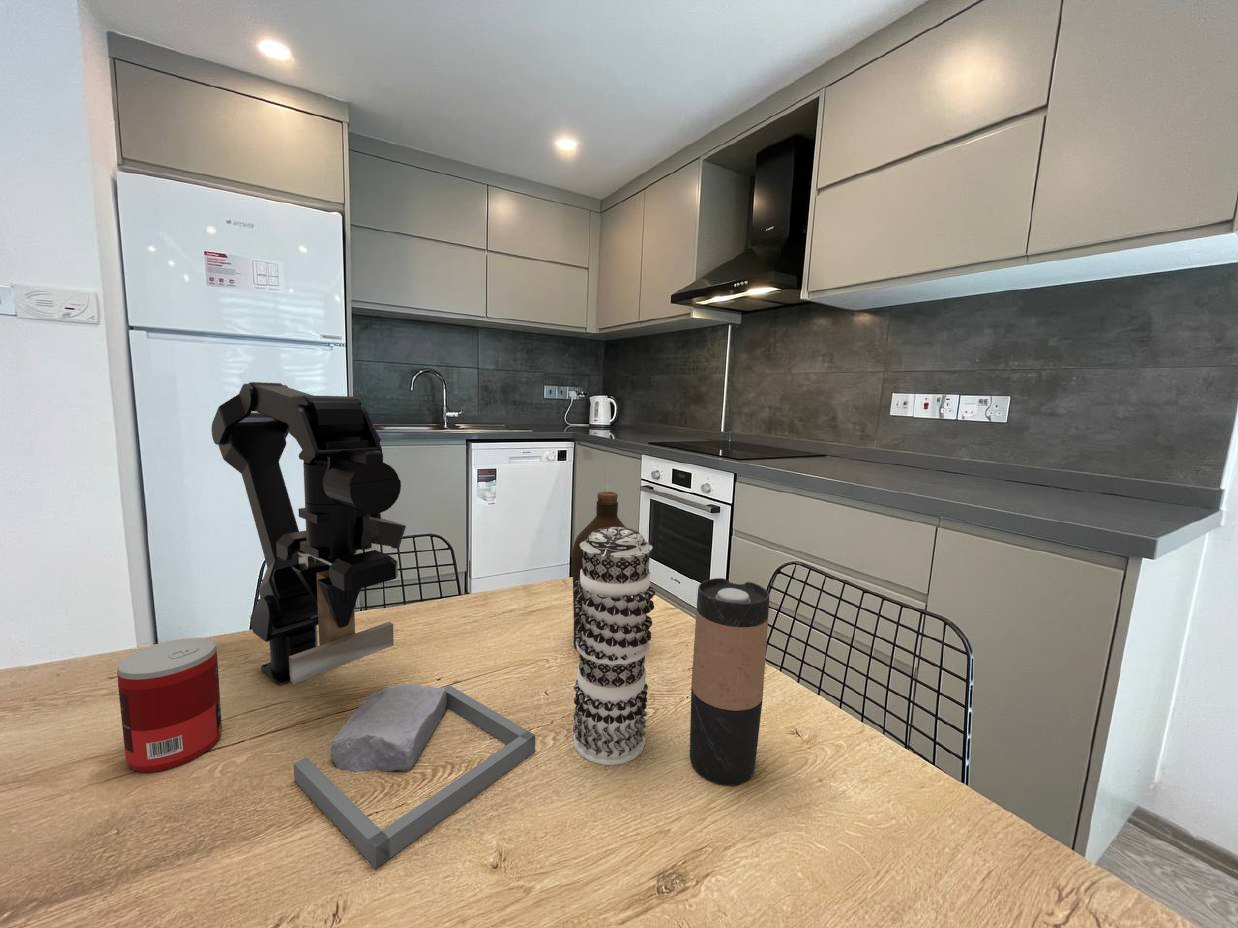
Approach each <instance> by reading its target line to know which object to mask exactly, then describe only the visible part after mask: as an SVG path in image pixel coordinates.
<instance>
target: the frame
mask: <svg viewBox="0 0 1238 928" xmlns="http://www.w3.org/2000/svg"><path fill="white" fill-rule="evenodd" d="M442 689H445V690H446V698H447V706H446V708H448V709H450V710H451V711H453V712H454V713H456V714H457V715H459V716H461V717H462V718H463V719H465V720H467V721H468V722H470V723H472V724H473V725H475V726H477V727H479V728H480V729H482V730H484V731H485V732H486V733H488V734H489V735H491V736H493V737H494V738H496V739H498V740H499V741H501V742H502V743H504V744H505V746H503V747H501V748H500V749H499V750H498V751H496V752H494V753H493V754H491V755H490V756H488V757H487V758H486V759H484V760H483V761H481V762H480V763H478V764H477V765H475V766H474V767H473V768H471V769H469V771H468V770H467V772H465V773H464V774H462V775H461V776H459V777H458V778H457V779H455V780H454V781H452V782H450V783H449V784H448V785H446V786H444V787H443V788H442V789H440V790H439V791H437V792H436V793H434V794H433V795H431V796H430V797H429V798H427V799H425V800H424V801H422V802H421V803H420V804H418V805H417V806H415V807H414V808H412V809H411V810H410V811H409V812H407V813H405V814H403V815H402V816H401V817H399V818H398V819H396V820H395V821H394V822H392V823H391V824H389V825H387V826H386V827H385V828H383V829H381V828H380V827H379V826H378V825H377V824H376V823H375V822H373V821H372V820H371V818H370V817H368V815H366V814H365V813H364V812H363V811H362V810H361V809H360V808H359V807H358V806H357V804H355V803H354V802H353V801H352V800H351V799H350V798H349V797H348V796H347V795H346V794H345V793H344V792H343V791H342V790H341V789H340V787H338V786H337V785H336V784H335V783H334V782H332V780H331V779H330V778H329V777H327V775H326V774H325V773H324V772H323V771H321V770H320V768H319V767H317V766H316V764H314V763H313V762H312V761H311V760H310V759H309V758H308V757H307V756H305V757H304V758H301V759H299V760H298V761H296V762H293V779H294V783H296V785H297V786H298V787H299V788H300V789H301V790H302V791H303V792H304V794H305V795H306V796H308V798H309V799H310V800H311V801H312V802H313V803H314V804H315V805H316V806H317V808H318V809H320V810H321V812H322V813H324V815H325V816H326V817H327V818H328V819H329V820H330V821H331V823H333V825H334V826H335V827H336V828H338V829H339V831H340V832H341V833H342V834H343V835H344V836H345V837H346V839H347V840H348V841H349V842H350V843H351V844H352V845H353V846H354V847H355V849H357V850H358V851H359V853H360V854H361V855H362V856H363V857H364V858H366V860H367V861H368V862H369V863H370V864H371V865H372V867H374V869H378V868H380V867H381V866H382V865H383V864H385V863H386V862H388V861H389V860H390V859H392V858H393V857H395V856H396V855H397V854H399V852H401V851H403V850H404V849H405V848H407V847H408V846H410V845H411V844H412V843H413V842H416V840H418V839H419V838H420V837H422V836H423V835H424V834H425V833H427V832H428V831H430V830H431V829H432V828H433V827H435V826H437V824H439V823H440V822H442V821H443V820H444V819H446V818H447V817H448V816H450V815H451V814H453V813H454V812H455V811H457V810H458V809H459V808H461V807H462V806H463V805H465V804H466V803H467V802H469V801H470V800H472V799H473V798H475V796H477V795H478V794H480V793H481V792H483V791H484V790H485V789H487V788H488V787H489V786H490V785H492V784H493V783H495V782H496V781H497V780H499V779H500V778H501V777H502V776H505V774H507V773H508V772H509V771H511V770H512V769H513V768H514V767H516V766H518V765H519V764H520V763H522V762H523V761H524V760H525V759H527V758H528V757H530V756H531V755H532V754H534V753H535V752H536V734H534V733H532V732H531V731H529V730H528V729H526V728H524V727H522V726H521V725H519V724H518V723H515V722H514V721H512V720H510V719H509V718H507V717H505V716H504V715H502V714H501V713H498V711H495V710H493V709H492V708H490V707H488V706H487V705H485V704H483V703H481V702H480V701H479V700H476V699H474V698H472V697H471V696H470V695H468V694H466V693H464V692H463V691H461V690H459V689H457V688H456V687H454V686H452V685H450V684H449V685H447V686H445V687H443V688H442Z"/></svg>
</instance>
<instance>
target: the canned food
mask: <svg viewBox="0 0 1238 928" xmlns="http://www.w3.org/2000/svg"><path fill="white" fill-rule="evenodd" d="M219 678H220V677H219V661H218V650H217V645H216V642H215V640H212V639H210V638H206V637H187V638H186V637H185V638H180V639H172V640H169V641H164V642H160V643H157V644H154V645H150V646H148V647H145V648H142V649H140V650H138V651H135V652H133V653H132V654H130V655H128V656H126V657H125V658H124V659H122V660H121V661H120V662H119V663H118V665H117V686H118V696H119V697H118V699H119V705H120V717H121V725H122V727H121V728H122V735H123V736H122V738H123V747H124V754H125V755H124V756H125V757H124V758H125V761H126V763H127V764H128V766H129V767H130V768H131V769H132V770H133V771H136V772H139V773H140V772H142V773H153V772H160V771H165V770H169V769H173V768H175V767H178V766H179V767H180V766H181V765H184V764H187V763H188V762H191V761H192V760H194V759H196V758H198V757H200V756H202V755H203V754H204V753H206V752H207V751H209V750H210V749H211V748H212V747H214V745H216V743H217V742H218V741H219V739H220V736H221V732H222V728H223V727H222V710H221V709H222V708H221V695H220V694H221V692H220V679H219Z"/></svg>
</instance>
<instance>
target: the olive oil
mask: <svg viewBox="0 0 1238 928" xmlns="http://www.w3.org/2000/svg"><path fill="white" fill-rule="evenodd" d="M596 496H597V501H596V502H595V503H596V506H595V507H596V515H595V517H594V518H593V519H592V521H590V522H589V524H587V526H586V527H585V528H583V529H582V530H581V532H580V533H579V534H577V536H576V538H575V541H574V542H573V547H572V550H571V563H572V564H571V565H572V566H571V568H572V596H573V597H572V600H573V602H572V605H573V606H572V609H573V611H572V612H573V619H574V618H575V617H576V611H575V605H576V604H575V600H576V599H577V597H576V595H577V594H575V593H574V587H575V582H576V581H577V580H579V579H580V570H581V569H582V565H583V562H582V555H583V549H581V547H580V543H582V542H583V541H584V540H587V538H588V537H589V535H590V534H591V533H592V532H593V531H594V530H597V529H600V528H606V527H622V528H627V527H626V526H625V525H624V523H623V522H622V521H621V519H620V518H619V517H618V511H619V502H618V496H619V495H618V493H617V492H613V491H601V492H600V491H599V492H598V493H597V495H596ZM582 589H583V588H581V589H580V592H582ZM581 606H582V604H581ZM580 622H582V619H581V618H580ZM576 626H577V624H576V623H575V622H574V621H573V646H574V648H575V650H577V647H576V640H575V636H576V635H577V634H576V629H577V627H576Z"/></svg>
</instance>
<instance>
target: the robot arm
mask: <svg viewBox="0 0 1238 928" xmlns="http://www.w3.org/2000/svg"><path fill="white" fill-rule="evenodd" d="M288 435H290V436H292V437H293V438H294V439H295V441H296V442H297V444H298V445H299V448H301V451H300V452H299V453H298V458H299V460H301V461H303V462H302V463H303V484H304V485H303V487H304V489H303V491H304V507H300V508H298V509H297V510H298V518H301V519H303V520H305V530H301V531H300V530H299V529H300V528H299V525H298V523H297V518H296V516H295V512H294V510H293V506H292V503H291V498H290V495H289V491H288V489H287V485H286V482H285V479H284V475H283V472H282V469H281V465H280V461H281V460H280V459H281V458H282V456H283V452H284V450H285V449H286V446H287V440H286V439H287V437H288ZM211 437H212V440H213V442H214V445H216V446H217V445H218V448H219V451H220V454H221V457H222V459H223V461H225V463H227V464H228V465H230V466H231V467H232V468H234V469H235V470H236V471H237V472H239V473H240V475H241V477H242V480H243V484H244V488H245V491H246V494H247V499H248V501H249V505H250V509H251V512H252V516H253V520H254V523H255V527H256V532H257V535H258V538H259V541H260V545H261V550H262V553H263V556H264V561H265V564H266V571H265V573H264V576H263V578H262V580H261V583H260V585H259V588H258V594H259V599H258V600H257V603H256V606H255V607H254V609H253V611H252V613H251V615H250V624H251V630H252V633H254V635H256V636H257V637H259V638H260V640H262V641H264V642H265V643H268V642H269V656H270V658H269V659H270V661H269V662H267V663H264V664H262V665H261V666H260V670H261V671H262V673H265V675H267V676H268V677H269V678H270V679H272V681H274V682H275V683H277V685H282V684H285V683H288V682H291V681H290V666H289V656H292V655H295V654H298V653H301V652H303V651H306V650H309V649H312V648H315V647H318V646H319V636H318V601H317V581H318V584H319V586H320V588H321V590H322V593H323V595H324V597H325V599H326V602H327V604H328V606H329V609H330V611H331V613H332V616H333V618H334V620H335V622H336V624H337V626H338V627H339V628H342V627H345V626H347V625H348V624H349V621H350V618H351V615H352V612H353V609H354V610H355V606H356V603H357V601H358V597H359V594H360V591H361V590H362V589H363V588H364V589H365V588H368V587H372V586H375V585H379V584H382V583H386V582H388V581H392V580H393V581H394V580H396V579H397V578H398V575H399V571H398V568H399V567H398V561H397V559H395V558H393V557H392V556H391V555H389V554H387V553H384V552H381V551H379V550H377V549H373V550H371V549H372V547H373V545H380V546H387V547H390V548H392V549H396V550H399V549H400V548H401V544H402V540H403V537H404V535H405V531H406V528H407V525H405V524H403V523H398V522H396V521H392V520H389V519H386V518H382V514H381V513H384V512H386V511H387V510H389V509H390V508H392V506H393V505H394V504H396V502H397V501H398V499H399V497H400V494H401V488H402V481H401V479H400V478H399V475H398V473H397V471H396V470H395V468H394V467H392V466H391V465H389V464H387V463H386V462H384V453H383V448H382V445H381V441H382V439H381V437H380V436H379V433H378V432H377V430H376V428H375V427H374V424H373V423H372V419H371V417H370V416H369V413H368V410H367V409H366V407H364V405H363V402H362V401H361V399H359V398H358V397H357V396H352V395H351V396H350V395H349V396H348V395H346V396H345V395H314V394H310V393H307V392H304V391H301V390H297V389H294V388H291V387H289V386H288V385H286V384H283V383H281V382H260V381H259V382H256V381H255V382H254V381H250V382H248V383H243V385H242V386H241V388H240V390H239V393H237V394H236V395H235V396H233V397H231V399H228V400H227V401H225V402H224V403H222V404H221V405H220V404H219V406H218V408H217V410H216V413H215V414H214V417H213V420H212V423H211ZM372 544H373V545H372ZM360 550H361V551H363V552H359V553H357V551H360ZM365 550H367V551H365ZM327 570H329V577H327V578H323V579H319V580H317V575H316V573H318V572H322V571H327Z"/></svg>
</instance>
